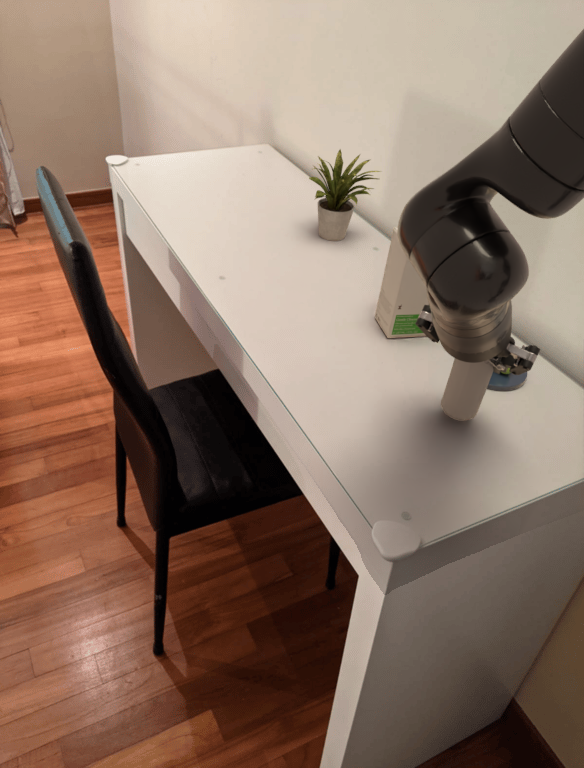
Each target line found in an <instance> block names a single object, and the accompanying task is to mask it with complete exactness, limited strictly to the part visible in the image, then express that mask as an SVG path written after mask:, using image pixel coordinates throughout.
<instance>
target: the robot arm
mask: <svg viewBox="0 0 584 768" xmlns="http://www.w3.org/2000/svg"><path fill="white" fill-rule="evenodd" d="M497 194H499V195H500V196H502V197H503V198H504V199H506V200H507V201H508V202H509V203H510V204H512V205H513V206H515V207H516V208H518V209H519V210H521V211H522V212H524V213H526V214H528V215H530V216H533V217H534V218H539V219H543V220H545V219H546V220H549V219H550V220H551V219H555V218H556V219H557V218H559V217H561V216H564V215H565V214H567V213H568V212H570V211H571V210H572V209H574V207H576V206H577V205H578V204H579V203H580V202H581V201H582V200H583V199H584V28H583V29H582V30H581V31H580V32H579V33H578V34H577V36H576V37H575V38H574V39H573V40H572V41H571V43H569V45H568V46H567V47H566V48H565V50H564V51H563V52H562V53H561V54H560V56H558V58H557V59H556V60H555V61H554V63H552V65H551V66H550V67H549V68H548V69H547V70H546V72H545V73H544V74H543V75H542V76H541V77H540V79H539V80H538V81H537V83H536V84H535V85H534V86H533V87H532V88H531V90H530V91H529V92H528V93H527V95H526V96H525V97H524V99H522V101H521V102H520V103H519V104H518V105H517V106H516V108H515V109H514V110H513V111H512V112H511V114H510V115H509V116H508V118H507V119H506V120H505V121H504V122H503V123H502V125H501V126H500V127H499V128H498V129H497V131H495V132H494V133H493V134H492V135H491V136H490V137H488V138H487V139H486V140H484V141H483V142H482V143H481V144H480V145H479V146H477V147H475V149H474V150H472V151H471V152H470V153H469V154H467V155H466V156H464V157H463V158H462V159H461V160H459V161H458V162H457V163H455V164H454V165H453V166H452V167H450V168H449V169H447V170H446V171H445V172H443V173H442V174H440V175H438V176H437V177H436V178H434V179H433V180H432V181H430V182H428V183H427V184H426V185H424V186H423V187H421V189H419V190H418V191H417V192H416V193H414V195H412V196H411V197H410V199H409V200H408V201H407V203H405V205H404V207H403V209H402V211H401V213H400V216H399V219H398V224H397V227H398V230H397V235H398V241H399V243H400V246H401V248H402V249H403V251H404V253H405V254H406V256H407V257H408V259H409V261H410V262H411V264H412V265H413V267H414V268H415V270H416V272H417V273H418V275H419V276H420V278H421V279H422V281H423V283H424V284H425V286H426V293H427V299H428V303H429V305H424V307H423V309H422V311H421V313H420V315H419V317H418V319H417V321H416V323H415V324H416V325H417V326H418V328H419V329H420V330H421V331H422V332H423V333H424V334H425V335H426V336H425V337H427V338H428V339H429V341H431V342H433V343H440V345H441V347H442V348H443V350H444V351H445V352H446V353H447V354H448V355H449V356H451V357H452V358H454V359H455V358H456V359H458V360H460V361H463V362H469V363H477V362H483V361H484V362H485V363H486V364H488V365H491V366H493V369H494V372H495V373H498V374H500V372H501V371H502V372H504V373H505V372H506V371H507V369H508V368H510V370H509V371H510V372H511V373H512V374H514V375H520V374H523V373H525V372H527V373H528V372H529V371H531V370H532V368H533V366H534V363H535V362H536V359H537V358H538V356H539V354H540V352H541V348H539V346H537V345H534V344H533V345H532V344H529V345H528V346H527V345H526V344H522V346H521V347H520V346H519V345H518V346H517V345H516V340H515V339H514V338H513V337H512V327H513V305H512V304H513V302H512V299H514V298H515V297H516V296H517V295H518V294H519V293H520V292H521V290H522V289H523V288H524V287H525V285H526V284H527V282H528V279H529V275H530V268H529V267H530V266H529V263H528V259H527V257H526V254H525V252H524V250H523V248H522V246H521V245H520V243H519V242H518V240H517V239H516V238H515V236H514V235H513V234H512V233H511V231H510V229H509V228H508V226H507V225H506V224H505V222H504V221H503V220H502V218H501V217H500V215H499V214H498V213H497V211H496V210H495V209H494V207H493V206H492V204H491V202H492V201H493V199H494V197H496V195H497Z"/></svg>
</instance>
